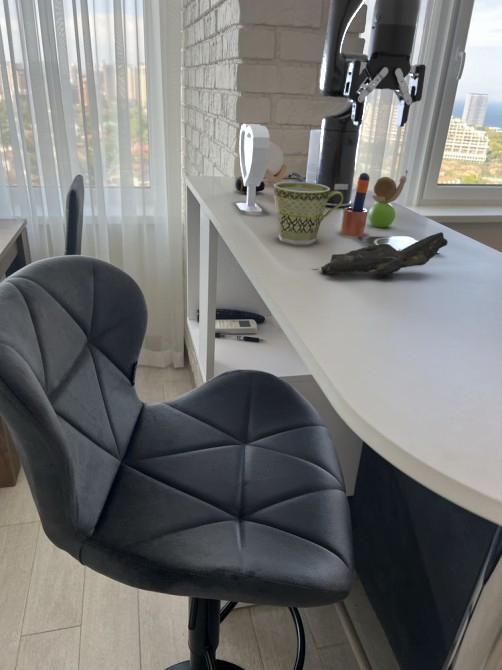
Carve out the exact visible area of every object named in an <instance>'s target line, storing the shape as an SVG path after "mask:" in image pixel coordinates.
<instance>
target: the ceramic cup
mask: <svg viewBox="0 0 502 670" xmlns="http://www.w3.org/2000/svg"><path fill="white" fill-rule="evenodd" d="M335 194H339V195H340V196H341V201H340V203H339V204H338V205H336V206H335V207H332V208H330V209H329V210H328V211H327V212H326V213H325V209H326V207H327V206H326V203H327V201H328V200H329V198H330V197H331V196H333V195H335ZM273 195H274V204H275V210H276V222H277V233H278V239H279V240H280V241H281V242H283V243H287V244H291V245H310V244H313V243H315V242H316V241H317V238H318V233H319V230H320V226H321V224H322V222H323V220H324V219H326V218H327V217H329V215H330V214H331V213H333V211H335V210H336V209H338V208H340V207H339V206H340V205H341V204H342V202H343V194H342V193H341V192H340V191H331V192H330V188H329V187H327V186H325V185H321V184H316V183H309V182H306V181H302V182H294V180H292V181H279V182H276V183H274V184H273ZM324 213H325V214H324Z"/></svg>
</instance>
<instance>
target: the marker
mask: <svg viewBox="0 0 502 670" xmlns="http://www.w3.org/2000/svg"><path fill="white" fill-rule="evenodd" d="M370 180H371V177H370V174H368V173H367V172H363V173H360V174H359V176H358V177H357V182H356V187H355V194H354V197H353V203H352V206H351V207H352V211H353V212H362V211H363V209H364V205H365V201H366V197H367V192H368V189H369V184H370Z"/></svg>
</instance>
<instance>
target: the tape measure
mask: <svg viewBox="0 0 502 670" xmlns="http://www.w3.org/2000/svg"><path fill="white" fill-rule="evenodd" d="M234 186H235V189H236V190H237V191H239V192H241V193H243V194H246V195H247V186H244V183H243V177H242V176H238V177H237V178H236V179H235V184H234ZM265 186H266V184H265V182H264V181H263V180H262V182H261V183H260V185H259V186H256V193H259V192H263V191H264V190H265Z"/></svg>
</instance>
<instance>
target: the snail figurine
mask: <svg viewBox="0 0 502 670" xmlns="http://www.w3.org/2000/svg"><path fill="white" fill-rule="evenodd" d="M404 172H405V175H401V176H400V177H399V181H398V184H396V181H395V180H394V179H393V178H391V177H388V176H382V177H380V178H378V179H376V181H375V182H374V183H373V192H374V194H375V195H372V196H371V198H372V199H373V200H374V201H375V202H376V203H374V204H372V206H371V207H370V209H369V210H368V213H367V218H368V221H369V223H370V224H371V225H372V226H373V227H374V228H380V229H386V228H388V227H389V226H391V225H392V224H393V222H394V221H395V219H396V211H395V208H394V206H393V205H392V204H391V203H392V202H394V201H396V200H397V199H398V198H399V197H400V195H401V193H402V191H403V189H404V187H405V184H406V182H407V179H408V178H407V176H408V175H407V174H409V171H408V169H406V170H404Z"/></svg>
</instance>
